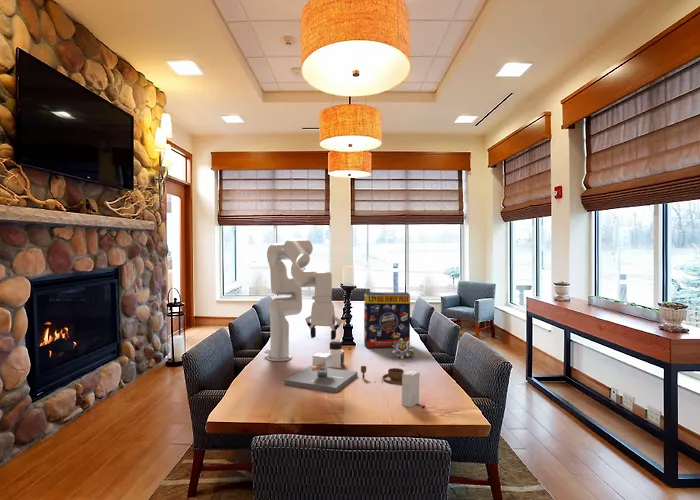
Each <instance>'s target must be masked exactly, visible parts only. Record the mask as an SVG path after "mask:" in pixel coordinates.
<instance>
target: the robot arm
mask: <svg viewBox="0 0 700 500" xmlns="http://www.w3.org/2000/svg"><path fill="white" fill-rule="evenodd" d="M313 250H314V249H313V244H312V242H311V241H310V240H309V239H306V238H305V239H304V238H289V239H287V240H285V242H282V243H281V242H278V243H273V244H270V245H268V248H267V250H266V258H267V263H268V265H269V269H270V270H269V271H270V272H269V273H270V291H271V293H272V294H273V295H276V296H283V295H284V296H285V295H289V296H288V297H287V296H286V297H275V298H273V299H271V300H270V302H269V303H268V312H269V320H270V327H269V329H270V340H269V341H270V345H269V346H270V348H265V349H264V354H268V355H267V357H266V358H267V360H269V361H271V362H285V361H290V360H291V359H292V358H293V356H292V355H291V354H290V351H289V350H290V325H289V324H290V323H289V321H288V320H287V319H286V317H287V316H296V315H300V313H301V312H302V309H303V298H302V288H314V296H312V298H311V299H312V300H313V302H312V305H311V312H310V315H309V316H307V317H306V318H304V320H305V321H306V325H307V326H308V328H309V330H310V338H311V339H314V338H316V335H317V334H316V331H317V330H316V327H317V326H318V327H330V329H331V331H330V340H331V341H335V339H336V338H337V330H338V329H339V328H340V327H341V324H342V322H343V320H341V319H340V318H338V316H336V314H335V313H336V311H335V305H334V302H333V295H332V294H333V291H332V290H333V288H332V287H333V275H332V272H331V271H327V270H326V271H325V270H321V269H312V270H311V269H307V270H302V269H304V268H306V267H307V266H308V265H309V263H310V260H311V257H310V255H312V253H313ZM283 260H290V261H291V263H292V264H291V267H290V273H291V274H290V275H291V276H288V272H287V271H288V270H287V269H288V268H287V266H286V264H285V263H284V262H283ZM335 323H336V324H335Z"/></svg>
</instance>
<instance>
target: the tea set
mask: <svg viewBox="0 0 700 500" xmlns="http://www.w3.org/2000/svg"><path fill="white" fill-rule="evenodd" d="M360 372H361V374H362V380H365V374H366V373H367V366H365V365H361V366H360ZM403 373H405V371H404V369H402V368H398V367H392V368H389V369H387V373H385V374H383V375H382V380H383V382H385V383H387V384H394V385H400V384H401V385H402V374H403ZM386 378H389V379H386ZM374 383H377V381H374Z"/></svg>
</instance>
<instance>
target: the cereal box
mask: <svg viewBox="0 0 700 500" xmlns="http://www.w3.org/2000/svg"><path fill="white" fill-rule="evenodd" d="M363 311H364V312H363V313H364V314H363V315H364V316H363V328H364V329H363V331H364V332H363V341H364V342H363V343H364V344H363V345H364V346H365V348H367V349H383V348H384V349H385V348H386V349H387V348H389V349H391V348H392V349H394V347H392V345H393V344H392V342H393V343H394V341H395V342H396V341H399V340H400V338H402V339H403V342H404V341H405V342H406V341H409V343H408V344H409V345H411V344H410V343H411V294H410V293H408V292H400V291H399V292H397V291H395V292H393V291H391V292H387V291H385V292H384V291H382V292H381V291H380V292H379V291H377V292H376V291H375V292H374V291H373V292H371V291H370V292H365V293H364V307H363Z"/></svg>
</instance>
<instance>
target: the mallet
mask: <svg viewBox="0 0 700 500" xmlns="http://www.w3.org/2000/svg"><path fill="white" fill-rule="evenodd" d="M331 365H332V354H329V353H328V352H317V353H315V354H313V355H312V366H313V367H312V371H317V370H318V369H320V368H323V369H326V368H330V366H331Z"/></svg>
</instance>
